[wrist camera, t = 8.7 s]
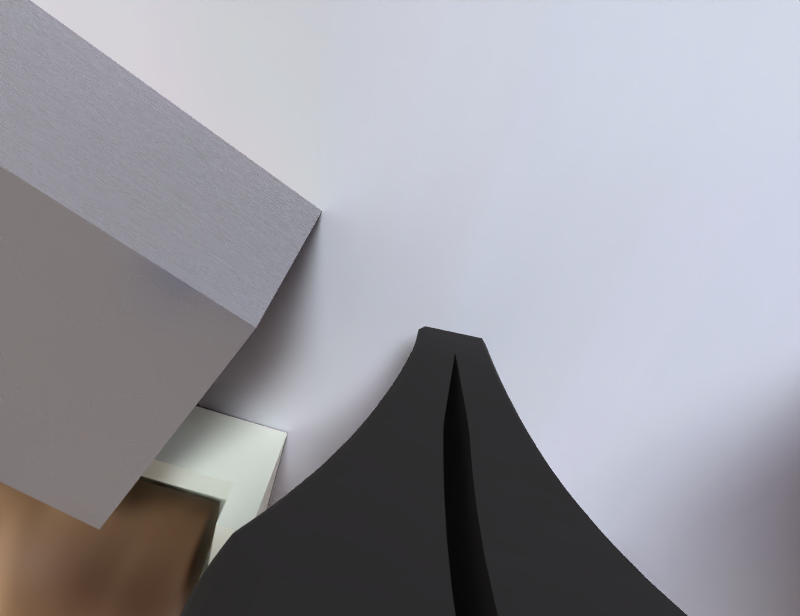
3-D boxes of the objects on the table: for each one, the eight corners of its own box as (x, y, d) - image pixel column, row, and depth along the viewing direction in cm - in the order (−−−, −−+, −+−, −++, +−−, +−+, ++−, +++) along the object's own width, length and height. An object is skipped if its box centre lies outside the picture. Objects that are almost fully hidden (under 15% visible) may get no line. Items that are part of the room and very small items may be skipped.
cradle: (287, 433, 16) (249, 533, 13) (251, 563, 20) (216, 662, 17) (-73, 326, 15) (-192, 409, 12) (-36, 484, 19) (-120, 573, 16)
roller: (227, 470, 16) (154, 624, 12) (209, 559, 18) (143, 712, 14) (-22, 398, 15) (-179, 536, 12) (-8, 499, 18) (-136, 642, 14)
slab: (323, 206, 12) (256, 327, 8) (189, 387, 16) (99, 530, 12) (-47, -62, 10) (-359, -62, 6) (-107, 215, 13) (-330, 322, 10)
